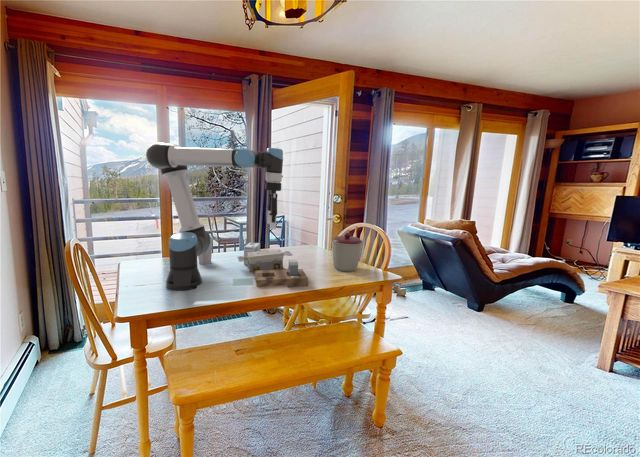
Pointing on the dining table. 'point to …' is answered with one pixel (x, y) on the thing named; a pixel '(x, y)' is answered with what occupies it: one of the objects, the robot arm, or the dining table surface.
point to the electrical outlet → (265, 260)
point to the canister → (346, 252)
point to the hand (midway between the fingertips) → (271, 226)
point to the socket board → (280, 278)
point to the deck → (242, 281)
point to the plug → (293, 268)
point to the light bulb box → (251, 249)
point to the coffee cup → (206, 255)
